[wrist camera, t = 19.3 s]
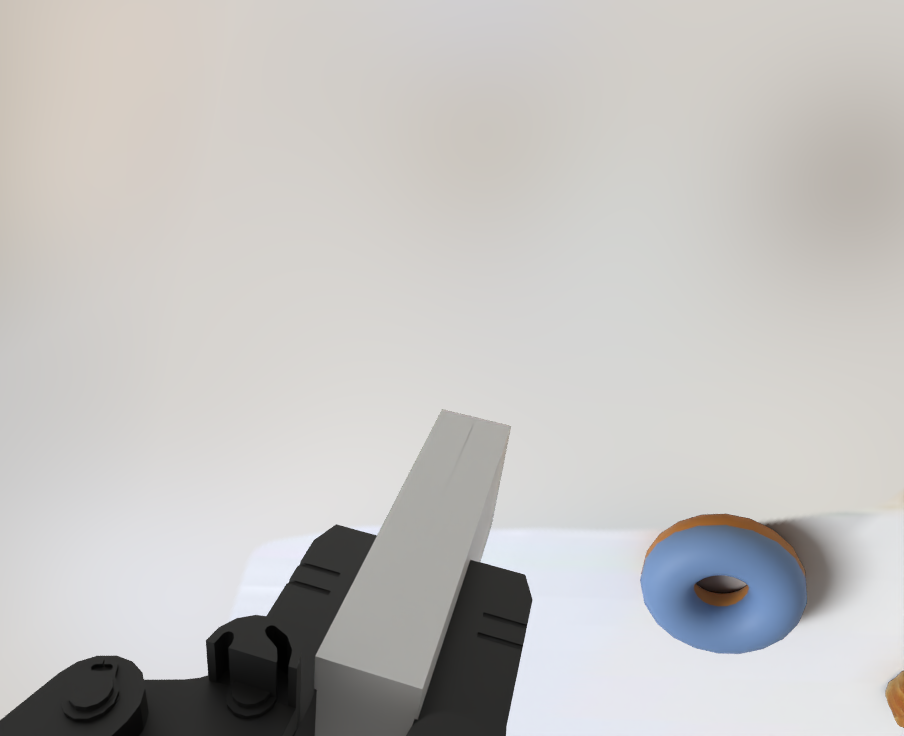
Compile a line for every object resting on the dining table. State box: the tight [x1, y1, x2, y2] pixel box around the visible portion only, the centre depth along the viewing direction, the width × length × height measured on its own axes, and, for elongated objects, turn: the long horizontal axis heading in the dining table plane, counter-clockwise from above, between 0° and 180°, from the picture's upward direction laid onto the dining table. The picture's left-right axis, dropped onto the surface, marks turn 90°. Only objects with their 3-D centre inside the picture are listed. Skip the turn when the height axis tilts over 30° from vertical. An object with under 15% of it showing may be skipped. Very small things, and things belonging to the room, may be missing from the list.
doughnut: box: [640, 514, 807, 654], centre depth 46 cm, size 10×10×5 cm
